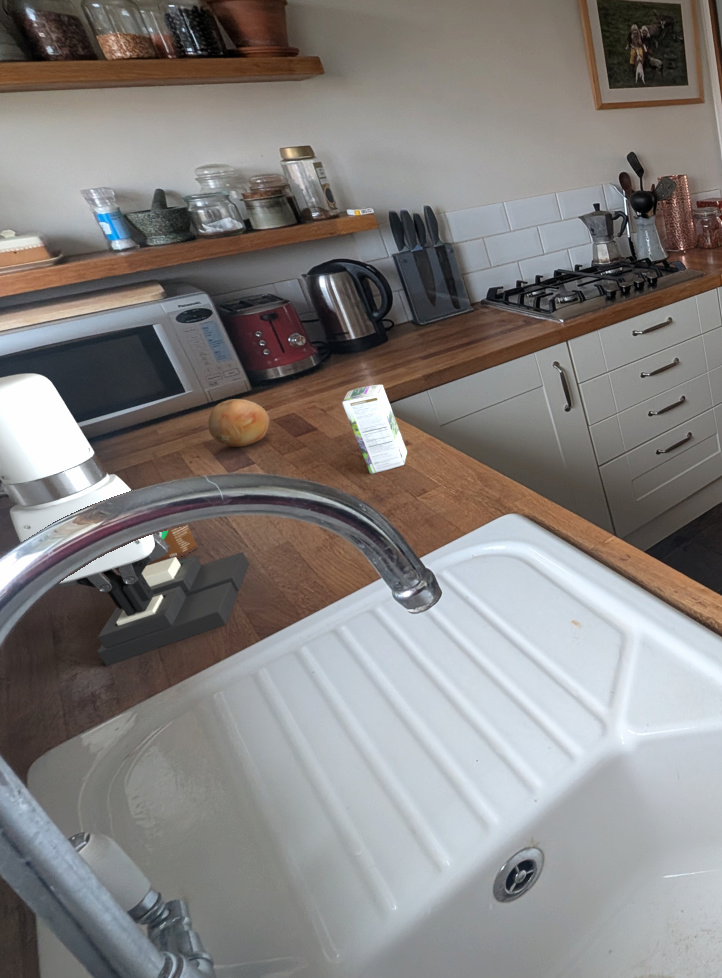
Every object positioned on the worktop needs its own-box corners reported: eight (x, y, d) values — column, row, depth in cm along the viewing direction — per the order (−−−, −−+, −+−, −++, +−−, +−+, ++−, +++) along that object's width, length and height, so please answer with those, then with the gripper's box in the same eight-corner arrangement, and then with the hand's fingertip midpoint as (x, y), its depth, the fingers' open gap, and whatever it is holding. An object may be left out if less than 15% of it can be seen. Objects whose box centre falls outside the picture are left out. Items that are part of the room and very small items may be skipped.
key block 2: (106, 666, 81) (88, 641, 80) (126, 631, 87) (110, 607, 85) (226, 624, 86) (212, 599, 84) (238, 594, 92) (224, 570, 90)
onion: (288, 430, 145) (268, 387, 141) (256, 452, 136) (233, 407, 132) (244, 435, 145) (223, 393, 141) (209, 458, 136) (185, 413, 132)
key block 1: (128, 627, 88) (112, 603, 86) (146, 597, 94) (131, 574, 92) (239, 590, 93) (226, 566, 91) (249, 564, 98) (237, 541, 97)
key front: (123, 633, 83) (115, 622, 82) (133, 616, 86) (125, 605, 85) (159, 621, 84) (152, 610, 83) (168, 604, 87) (161, 594, 86)
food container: (100, 573, 101) (63, 517, 97) (142, 547, 106) (109, 493, 102) (166, 574, 98) (131, 517, 94) (206, 548, 104) (174, 493, 100)
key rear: (140, 591, 89) (133, 581, 88) (149, 577, 92) (143, 566, 91) (174, 580, 90) (168, 570, 89) (182, 566, 93) (176, 556, 92)
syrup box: (374, 461, 126) (345, 390, 120) (409, 452, 128) (381, 382, 122) (370, 475, 121) (339, 401, 115) (406, 465, 123) (377, 392, 117)
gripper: (-50, 520, 71) (48, 652, 78) (131, 472, 77) (206, 599, 84) (-13, 489, 77) (75, 615, 84) (151, 448, 83) (220, 568, 90)
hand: (140, 607), depth 84 cm, fingers closed
